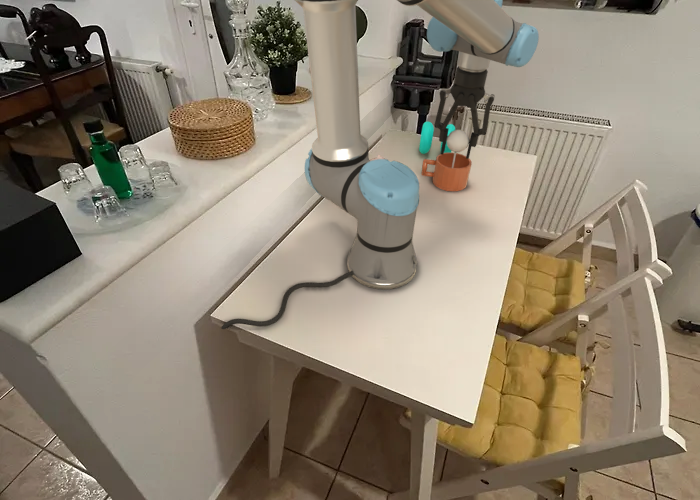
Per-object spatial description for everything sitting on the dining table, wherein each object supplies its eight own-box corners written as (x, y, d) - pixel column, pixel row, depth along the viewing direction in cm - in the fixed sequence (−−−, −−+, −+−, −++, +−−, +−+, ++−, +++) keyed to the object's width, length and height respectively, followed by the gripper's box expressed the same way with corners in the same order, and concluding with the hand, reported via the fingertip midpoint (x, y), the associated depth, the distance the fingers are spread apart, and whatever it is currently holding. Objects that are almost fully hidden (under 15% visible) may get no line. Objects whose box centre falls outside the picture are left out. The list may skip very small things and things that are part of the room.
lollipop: (459, 175, 126) (470, 126, 116) (461, 185, 121) (472, 136, 112) (438, 174, 126) (447, 125, 117) (439, 184, 122) (449, 134, 112)
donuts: (449, 163, 133) (455, 132, 127) (417, 158, 135) (421, 128, 129) (451, 148, 141) (456, 119, 134) (420, 145, 142) (424, 115, 136)
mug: (467, 176, 127) (471, 155, 123) (466, 193, 120) (471, 171, 115) (422, 170, 129) (425, 149, 125) (418, 186, 122) (421, 164, 117)
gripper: (513, 68, 104) (491, 154, 119) (435, 58, 109) (423, 143, 124) (512, 77, 99) (489, 166, 114) (430, 67, 103) (418, 154, 118)
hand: (455, 154), depth 119 cm, fingers closed on lollipop, 6 cm apart
